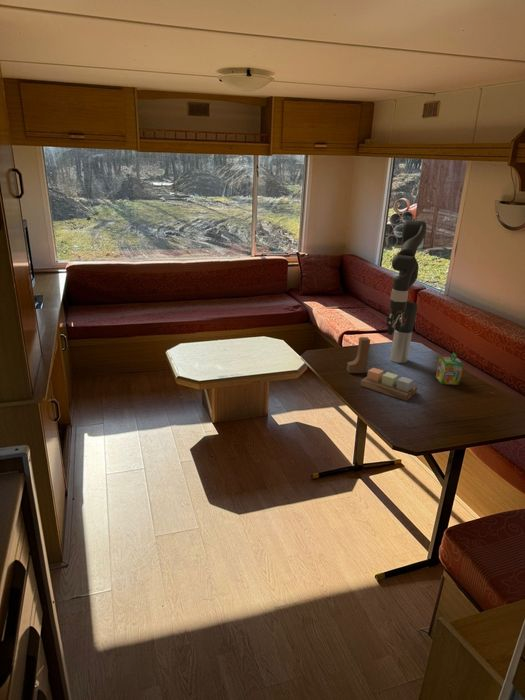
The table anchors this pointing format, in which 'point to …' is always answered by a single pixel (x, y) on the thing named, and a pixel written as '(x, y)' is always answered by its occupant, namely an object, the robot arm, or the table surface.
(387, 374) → the sage key
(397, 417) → the table surface
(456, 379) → the chalk box
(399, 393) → the wooden tray
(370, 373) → the terracotta key
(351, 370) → the wooden block
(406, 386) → the slate key
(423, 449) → the table surface
